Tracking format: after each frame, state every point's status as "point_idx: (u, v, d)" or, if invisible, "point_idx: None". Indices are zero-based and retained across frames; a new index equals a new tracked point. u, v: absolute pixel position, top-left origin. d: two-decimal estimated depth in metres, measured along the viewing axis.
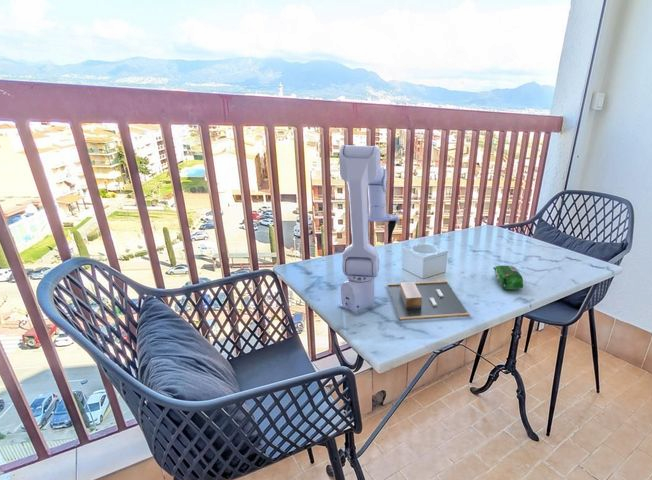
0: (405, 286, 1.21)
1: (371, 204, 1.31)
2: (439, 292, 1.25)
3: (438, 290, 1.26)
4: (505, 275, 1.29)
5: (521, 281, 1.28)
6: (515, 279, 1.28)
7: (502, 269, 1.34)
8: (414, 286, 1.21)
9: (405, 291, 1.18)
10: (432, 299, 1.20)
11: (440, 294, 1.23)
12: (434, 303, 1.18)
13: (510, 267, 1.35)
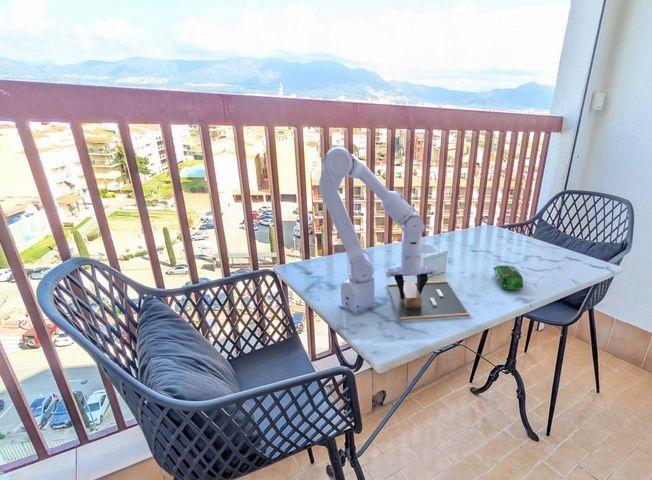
0: (405, 286, 1.21)
1: None
2: (439, 292, 1.25)
3: (438, 290, 1.26)
4: (505, 275, 1.29)
5: (521, 281, 1.28)
6: (515, 279, 1.28)
7: (502, 269, 1.34)
8: (414, 286, 1.21)
9: (405, 291, 1.18)
10: (432, 299, 1.20)
11: (440, 294, 1.23)
12: (434, 303, 1.18)
13: (510, 267, 1.35)
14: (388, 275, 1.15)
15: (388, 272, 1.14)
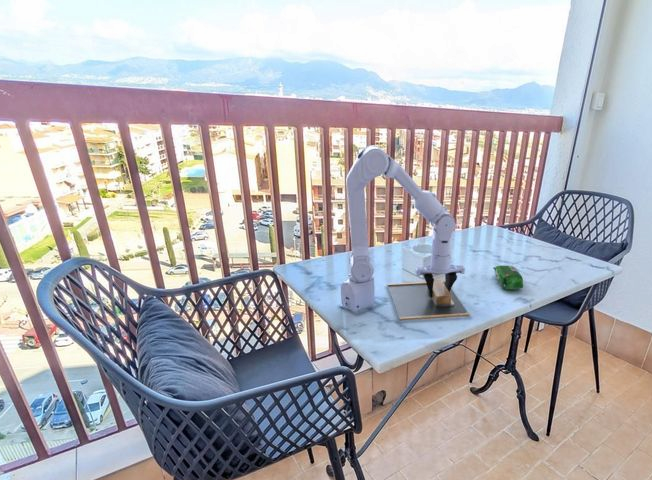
0: (433, 284, 1.23)
1: None
2: None
3: None
4: (505, 275, 1.29)
5: (521, 281, 1.28)
6: (515, 279, 1.28)
7: (502, 269, 1.34)
8: (442, 284, 1.23)
9: (434, 289, 1.19)
10: None
11: None
12: (451, 302, 1.18)
13: (510, 267, 1.35)
14: (418, 274, 1.16)
15: (418, 271, 1.16)
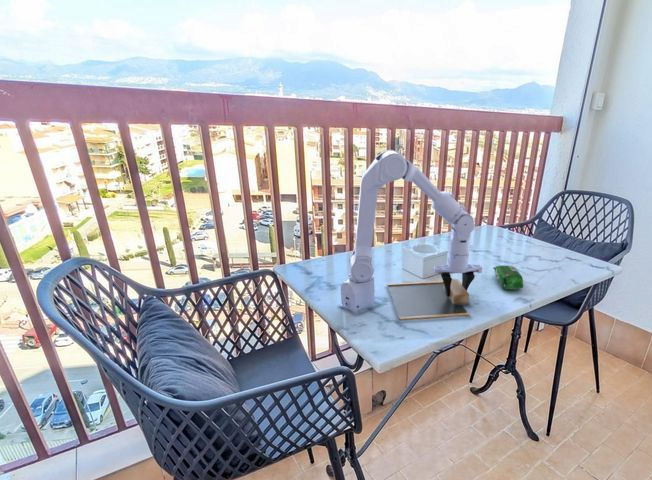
0: None
1: None
2: None
3: None
4: (505, 275, 1.29)
5: (521, 281, 1.28)
6: (515, 279, 1.28)
7: (502, 269, 1.34)
8: (459, 283, 1.23)
9: (451, 288, 1.20)
10: None
11: None
12: None
13: (510, 267, 1.35)
14: (436, 273, 1.17)
15: (436, 270, 1.17)
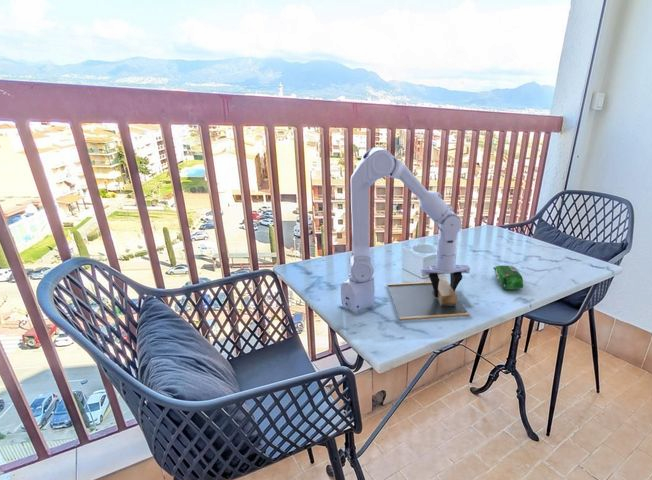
0: None
1: None
2: None
3: None
4: (505, 275, 1.29)
5: (521, 281, 1.28)
6: (515, 279, 1.28)
7: (502, 269, 1.34)
8: (447, 284, 1.23)
9: (439, 289, 1.19)
10: None
11: None
12: None
13: (510, 267, 1.35)
14: (423, 273, 1.17)
15: (424, 270, 1.16)
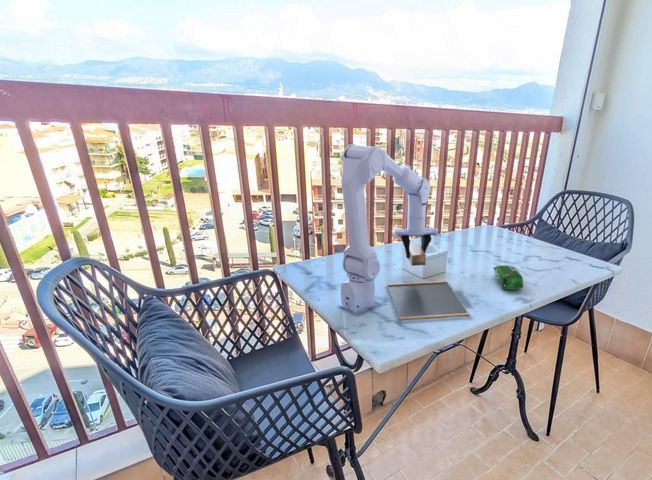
0: (410, 247, 1.34)
1: (408, 215, 1.26)
2: None
3: None
4: (505, 275, 1.29)
5: (521, 281, 1.28)
6: (515, 279, 1.28)
7: (502, 269, 1.34)
8: (419, 247, 1.34)
9: (410, 250, 1.30)
10: None
11: None
12: None
13: (510, 267, 1.35)
14: (395, 235, 1.27)
15: (395, 232, 1.27)
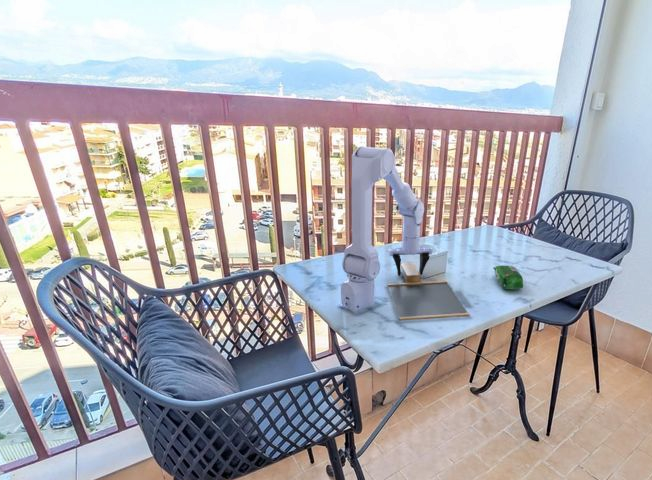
0: (405, 266, 1.39)
1: (403, 235, 1.30)
2: None
3: None
4: (505, 275, 1.29)
5: (521, 281, 1.28)
6: (515, 279, 1.28)
7: (502, 269, 1.34)
8: (413, 266, 1.39)
9: (405, 270, 1.35)
10: None
11: None
12: None
13: (510, 267, 1.35)
14: (391, 254, 1.32)
15: (391, 251, 1.32)
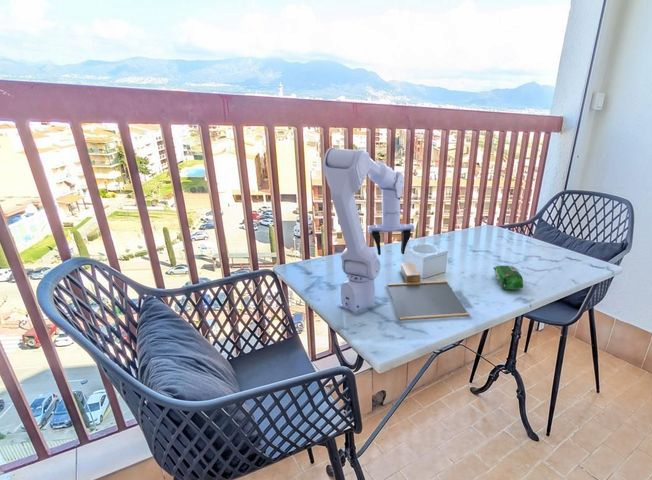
0: (405, 266, 1.39)
1: (383, 210, 1.22)
2: None
3: None
4: (505, 275, 1.29)
5: (521, 281, 1.28)
6: (515, 279, 1.28)
7: (502, 269, 1.34)
8: (413, 266, 1.39)
9: (406, 270, 1.35)
10: None
11: None
12: None
13: (510, 267, 1.35)
14: (369, 231, 1.24)
15: (369, 228, 1.23)
